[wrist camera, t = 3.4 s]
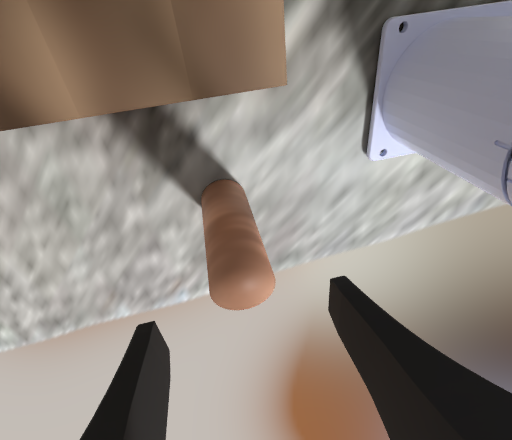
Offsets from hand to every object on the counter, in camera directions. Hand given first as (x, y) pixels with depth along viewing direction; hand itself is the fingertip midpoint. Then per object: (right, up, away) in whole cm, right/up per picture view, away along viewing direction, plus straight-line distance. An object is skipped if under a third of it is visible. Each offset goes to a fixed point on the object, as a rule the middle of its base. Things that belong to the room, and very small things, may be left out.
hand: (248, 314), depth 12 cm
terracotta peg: (-2, +5, +8) cm, 9 cm away
